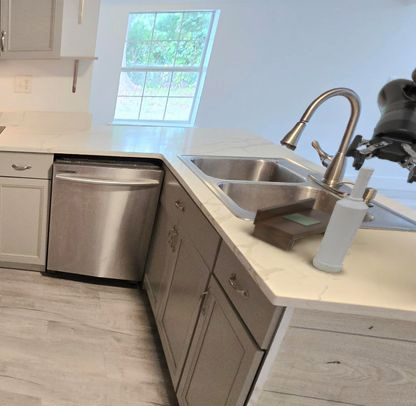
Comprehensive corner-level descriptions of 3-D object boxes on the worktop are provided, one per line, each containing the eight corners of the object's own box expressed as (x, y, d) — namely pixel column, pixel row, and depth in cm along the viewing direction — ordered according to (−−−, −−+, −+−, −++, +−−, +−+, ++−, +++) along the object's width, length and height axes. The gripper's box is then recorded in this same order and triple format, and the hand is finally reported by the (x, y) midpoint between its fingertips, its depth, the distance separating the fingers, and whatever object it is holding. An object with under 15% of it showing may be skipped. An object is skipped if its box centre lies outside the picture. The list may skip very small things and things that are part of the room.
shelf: (342, 236, 100) (353, 210, 97) (287, 252, 94) (297, 224, 91) (302, 222, 109) (311, 197, 106) (249, 234, 103) (257, 209, 100)
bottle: (346, 272, 85) (392, 171, 75) (326, 274, 85) (369, 172, 75) (325, 260, 90) (366, 164, 80) (305, 262, 90) (344, 165, 80)
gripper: (365, 111, 88) (350, 151, 81) (452, 126, 80) (444, 171, 73) (349, 136, 93) (334, 175, 86) (429, 152, 85) (419, 197, 78)
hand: (384, 173), depth 80 cm, fingers open, 8 cm apart
